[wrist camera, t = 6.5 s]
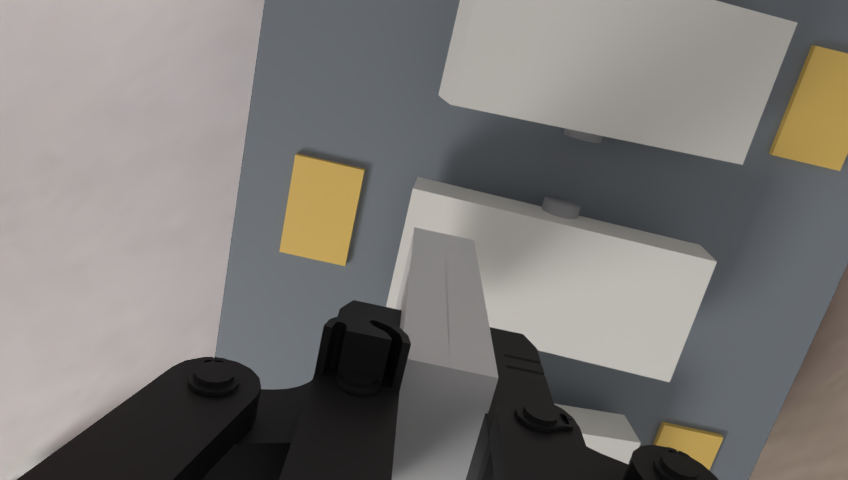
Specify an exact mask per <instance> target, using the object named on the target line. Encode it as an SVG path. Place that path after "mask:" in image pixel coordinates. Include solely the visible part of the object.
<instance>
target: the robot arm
mask: <svg viewBox="0 0 848 480" xmlns="http://www.w3.org/2000/svg"><path fill="white" fill-rule="evenodd" d="M17 480H719V479H718V478H717V477H716V476H715V475H714V474H713V473H712V472H710V471H709V470H708V469H707V468H706V467H705V466H704V465H703V464H701V463H700V462H698V461H696V460H695V459H693V458H691V457H690V456H689V455H688V454H686V453H684V452H682V451H677V449H673V448H670V447H663V446H657V445H646V446H640V447H639V448H637V449H636V450H634V451H633V453H632V456H631V458H630V461H629V464H626V463H623V462H621V461H618V460H616V459H613V458H611V457H609V456H606V455H604V454H601V453H599V452H597V451H595V450H593V449H591V448H589V447H587V446H586V444H585V441H584V438H583V435H582V432H581V430H580V427H579V426H578V424H577V423H576V421H575V419H574V418H573V417H572V416H570V415H569V414H568V413H567V412H566V411H565V410H563V409H562V408H560V407H558V406H556V405H554V403H553V400H552V396H551V393H550V390H549V387H548V383H547V380H546V377H545V376H544V370H543V367H542V365H541V361H540V358H539V354H538V351H537V348H536V347H535V346H534V345H533V344H532V343H531V342H530V341H529V340H528V339H527V338H526V337H525V336H524V335H523V334H520V333H515V332H510V331H506V330H501V329H496V328H492V327H489V321H488V316H487V310H486V304H485V299H484V293H483V287H482V282H481V276H480V270H479V265H478V259H477V253H476V248H475V242H474V240H471V239H466V238H462V237H457V236H453V235H448V234H443V233H439V232H434V231H430V230H425V229H421V228H416V227H414V230H413V235H412V239H411V243H410V248H409V252H408V256H407V260H406V265H405V269H404V273H403V278H402V282H401V286H400V291H399V295H398V299H397V304H396V308H395V309H393V308H389V307H384V306H379V305H375V304H370V303H365V302H360V301H356V300H353V301H351V302H350V303H348V304H346V305H345V306H343V307H342V308H340V310H339V313H338V316H337V317H334V318H331V319H329V320H328V322H327V323H326V324H325V325H324V327H323V332H322V337H321V342H320V347H319V352H318V357H317V363H316V368H315V373H314V376H313V379H312V380H311V381H310V382H308V383H306V384H303V385H301V386H298V387H293V388H289V389H261V384H260V379H259V377H258V376H257V375H256V373H255V372H254V371H253V370H252V369H251V368H249V367H247V366H245V365H243V364H241V363H239V362H236V361H232V360H227V359H225V358H218V357H215V358H212V357H202V358H197V359H191V360H186V361H184V362H182V363H179V364H177V365H175V366H173V367H171V368H170V369H169V370H167V371H166V372H165V373H163V374H162V375H160V376H159V377H158V378H156V379H155V380H153V381H152V382H151V383H149V384H148V385H147V386H145V387H144V388H142V389H141V390H140V391H138V392H137V393H136V394H134V395H133V396H131V397H130V398H129V399H127V400H126V401H125V402H123V403H122V404H120V405H119V406H118V407H116V408H115V409H114V410H112V411H111V412H109V413H108V414H107V415H105V416H104V417H103V418H101V419H100V420H98V421H97V422H96V423H94V424H93V425H91V426H90V427H89V428H87V429H86V430H85V431H83V432H82V433H80V434H79V435H78V436H76V437H75V438H74V439H72V440H71V441H69V442H68V443H67V444H65V445H64V446H63V447H61V448H60V449H58V450H57V451H56V452H54V453H53V454H52V455H50V456H49V457H47V458H46V459H45V460H43V461H42V462H41V463H39V464H38V465H36V466H35V467H34V468H32V469H31V470H29V471H28V472H27V473H25V474H24V475H23V476H21V477H20V478H18V479H17Z"/></svg>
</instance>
